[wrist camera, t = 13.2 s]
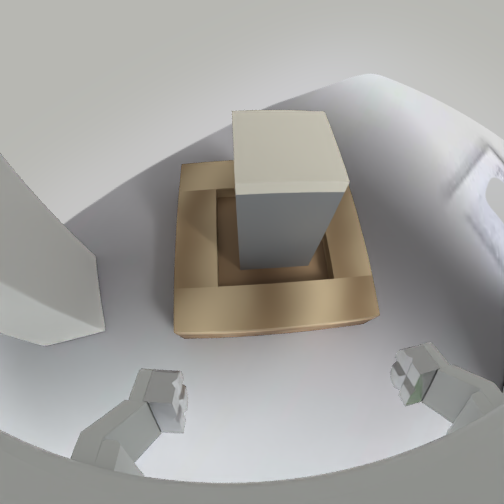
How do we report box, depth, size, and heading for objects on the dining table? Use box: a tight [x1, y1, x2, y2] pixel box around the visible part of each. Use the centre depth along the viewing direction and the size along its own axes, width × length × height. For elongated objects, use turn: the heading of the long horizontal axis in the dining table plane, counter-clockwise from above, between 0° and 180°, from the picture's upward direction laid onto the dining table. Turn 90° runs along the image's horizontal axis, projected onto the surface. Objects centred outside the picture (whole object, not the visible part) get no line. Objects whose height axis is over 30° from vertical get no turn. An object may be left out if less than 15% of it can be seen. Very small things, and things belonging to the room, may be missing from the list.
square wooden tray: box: [174, 160, 380, 339], centre depth 22 cm, size 14×14×3 cm
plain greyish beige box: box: [232, 110, 350, 270], centre depth 17 cm, size 5×5×10 cm
